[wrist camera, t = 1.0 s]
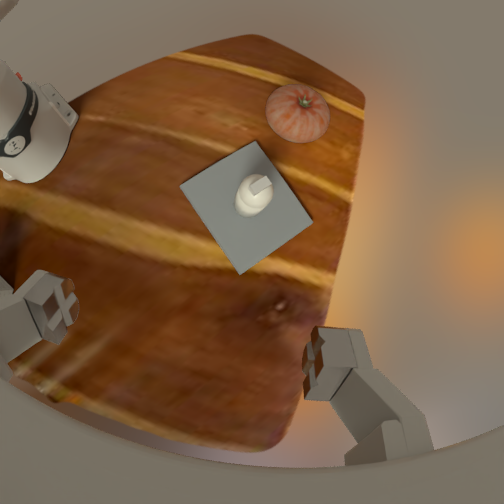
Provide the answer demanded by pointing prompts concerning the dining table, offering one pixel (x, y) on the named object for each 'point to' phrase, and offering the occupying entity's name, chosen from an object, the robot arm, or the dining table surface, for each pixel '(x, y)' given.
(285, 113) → the tomato
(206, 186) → the grey pad
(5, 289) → the supplement box
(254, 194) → the white rounded bottle
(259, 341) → the dining table surface
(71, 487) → the robot arm
